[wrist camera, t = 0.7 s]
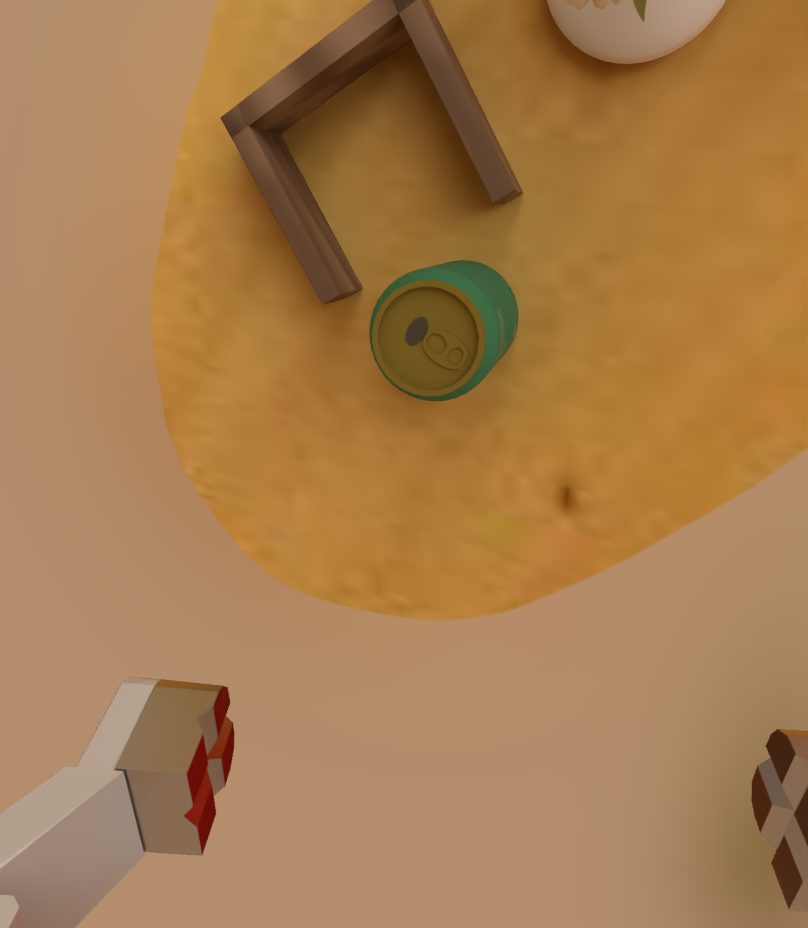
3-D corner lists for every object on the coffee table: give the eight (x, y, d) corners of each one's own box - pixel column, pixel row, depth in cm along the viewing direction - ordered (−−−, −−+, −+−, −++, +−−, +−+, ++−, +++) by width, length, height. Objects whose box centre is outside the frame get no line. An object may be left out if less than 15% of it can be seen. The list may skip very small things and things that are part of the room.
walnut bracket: (427, -3, 48) (407, -27, 44) (523, 192, 50) (514, 189, 46) (254, 126, 54) (220, 117, 49) (346, 297, 56) (322, 304, 51)
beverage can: (448, 238, 53) (404, 242, 42) (541, 298, 52) (522, 318, 41) (394, 332, 56) (340, 358, 45) (481, 389, 55) (448, 431, 44)
